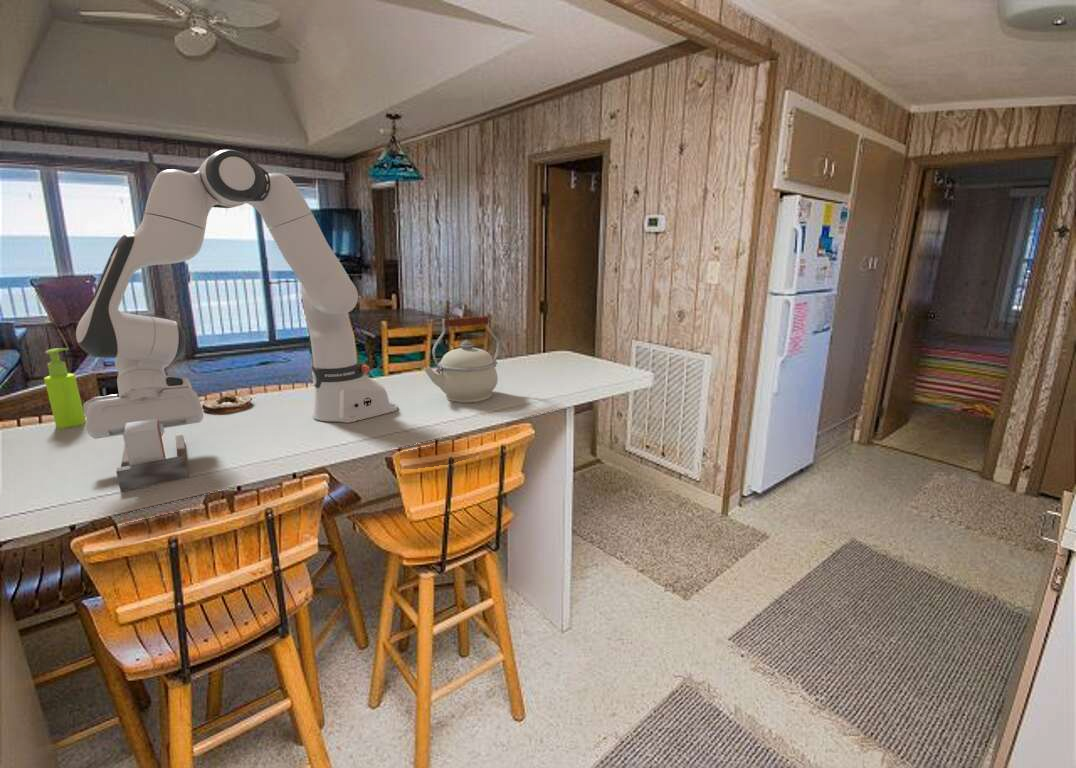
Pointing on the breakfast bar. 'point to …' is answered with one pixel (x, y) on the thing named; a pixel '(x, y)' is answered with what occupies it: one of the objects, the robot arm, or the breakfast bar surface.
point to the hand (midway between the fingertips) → (151, 446)
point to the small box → (143, 441)
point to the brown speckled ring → (227, 404)
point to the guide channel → (153, 469)
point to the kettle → (465, 367)
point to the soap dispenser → (63, 393)
